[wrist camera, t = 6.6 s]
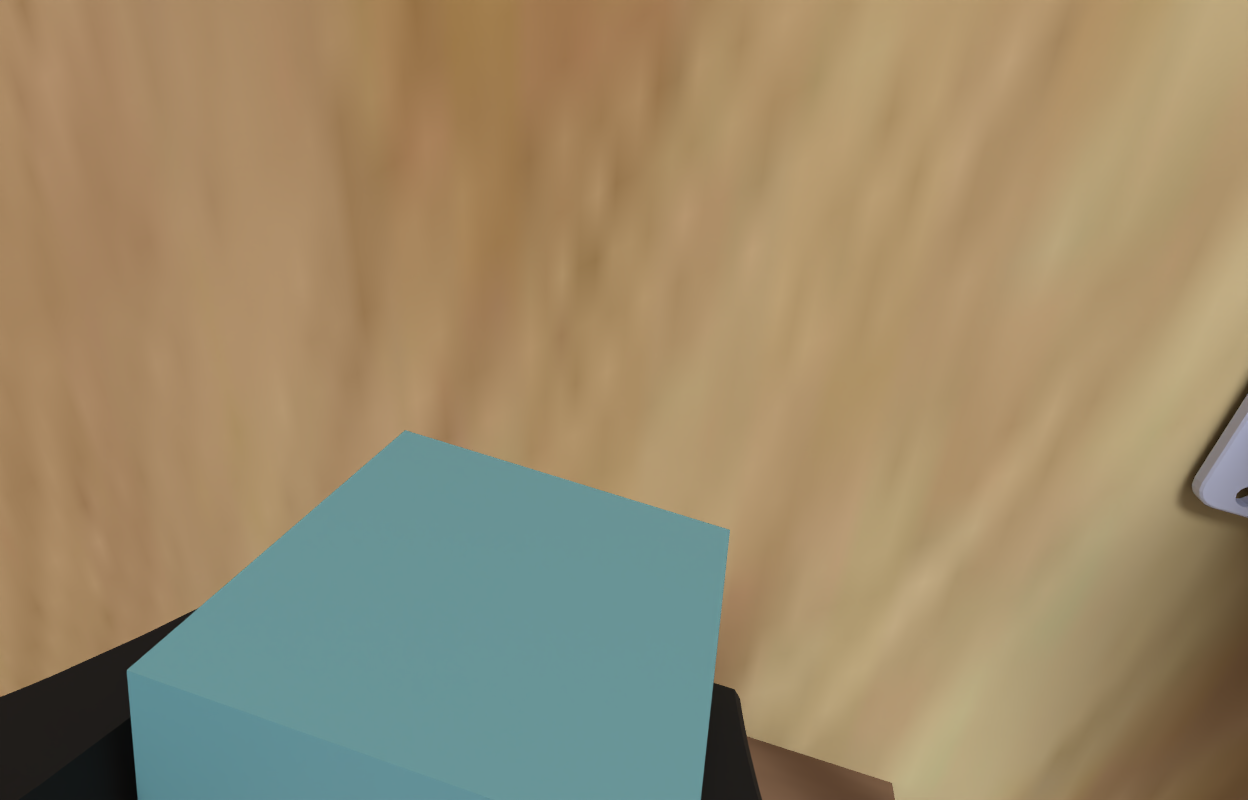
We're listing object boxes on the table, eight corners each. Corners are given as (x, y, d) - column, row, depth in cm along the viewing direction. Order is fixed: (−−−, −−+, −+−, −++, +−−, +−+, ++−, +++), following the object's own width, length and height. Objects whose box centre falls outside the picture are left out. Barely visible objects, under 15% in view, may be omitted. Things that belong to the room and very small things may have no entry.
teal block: (729, 529, 10) (692, 869, 6) (647, 766, 12) (571, 1156, 8) (404, 430, 11) (126, 670, 6) (378, 674, 13) (154, 990, 8)
